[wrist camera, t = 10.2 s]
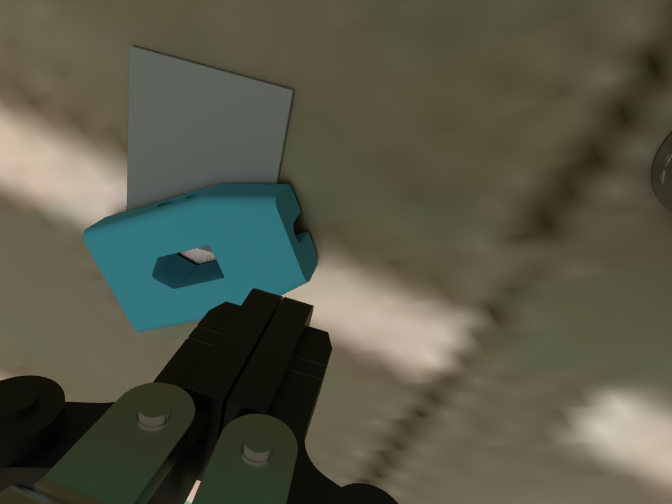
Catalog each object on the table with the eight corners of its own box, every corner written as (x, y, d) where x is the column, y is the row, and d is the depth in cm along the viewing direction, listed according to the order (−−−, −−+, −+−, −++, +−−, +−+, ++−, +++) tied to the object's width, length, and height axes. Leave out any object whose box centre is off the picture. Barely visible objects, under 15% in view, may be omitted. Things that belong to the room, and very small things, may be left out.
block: (313, 301, 44) (137, 335, 50) (324, 275, 49) (162, 309, 55) (265, 180, 40) (79, 233, 46) (282, 163, 44) (110, 213, 50)
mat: (294, 89, 42) (292, 90, 41) (263, 264, 50) (261, 267, 50) (133, 45, 43) (129, 45, 42) (129, 224, 51) (126, 226, 51)
